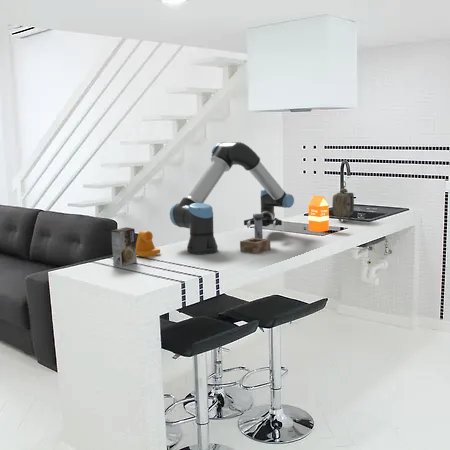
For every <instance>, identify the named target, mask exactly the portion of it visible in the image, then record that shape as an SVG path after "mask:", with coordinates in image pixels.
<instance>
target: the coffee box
mask: <svg viewBox="0 0 450 450" xmlns="http://www.w3.org/2000/svg"><path fill="white" fill-rule="evenodd" d="M110 231H111V232H110V234H111V248H112V249H111V250H112V262H113V263H112V264H113V266H118V267H124V266H128V265H132V264H135V263H138V262H137V260H138V259H137V258H138V257H137V255H136V235H135V234H136V233H135V228H134V227H133V228H132V227H121V228H116V229H111V230H110Z"/></svg>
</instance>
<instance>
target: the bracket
mask: <svg viewBox="0 0 450 450" xmlns="http://www.w3.org/2000/svg"><path fill="white" fill-rule="evenodd" d="M153 238H154V237H153V233H152V232H151V231H149V230H143V229H141V230H140V231H139V232H138V234H137V238H136V240H135V244H136V256H138V257H142V258H143V257H144V258H151V257H155V256H158V254H161V248H158V247H157V248H156V247H155V244H154V242H153Z"/></svg>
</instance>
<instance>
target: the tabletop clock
mask: <svg viewBox="0 0 450 450" xmlns="http://www.w3.org/2000/svg"><path fill="white" fill-rule="evenodd" d="M343 183H344V185H343ZM346 184H347V183H346V181H345V180H343V181H342V182H341V185H340V187H341V188H340V190H339V192H337V193H335V194H333V195H332V214H333V216H336V217H339V219H338V221H339V222H340V221H342V222H343V223H346V219H345V217H348V220H349V221H351V220H352V217H350V216H352V215H353V214H354V207H355V197H354V196H355V194H354V193H353V192H348V189H347V188H346ZM342 219H343V220H342Z"/></svg>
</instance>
